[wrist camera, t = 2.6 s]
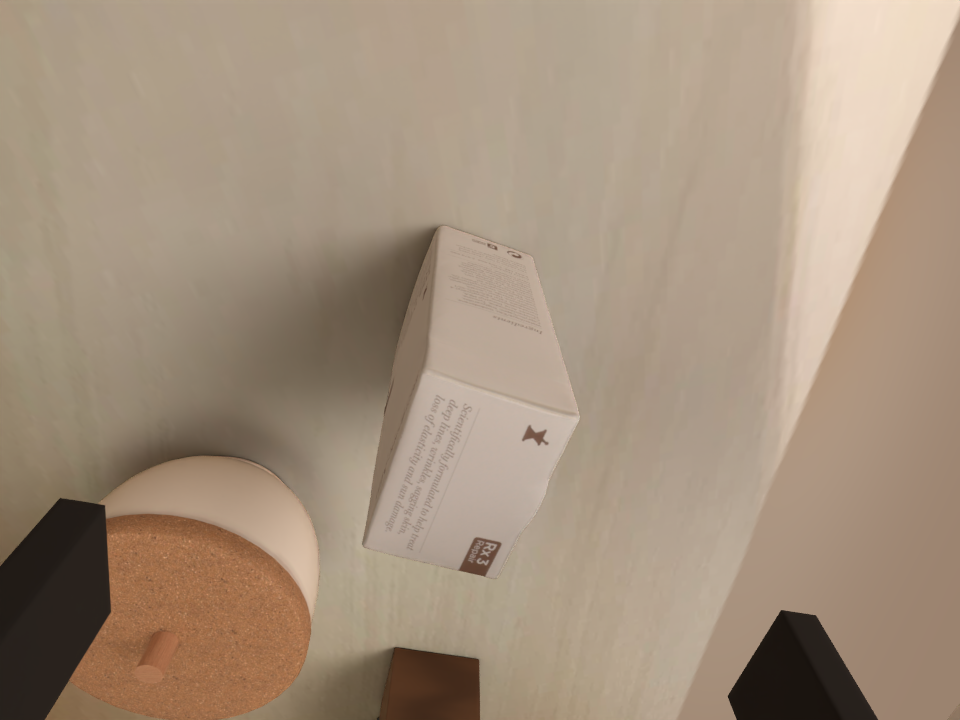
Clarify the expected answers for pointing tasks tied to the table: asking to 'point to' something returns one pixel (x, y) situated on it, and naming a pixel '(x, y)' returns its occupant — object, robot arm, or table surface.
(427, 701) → the walnut block
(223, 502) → the trinket box
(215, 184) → the table surface
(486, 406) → the cosmetic box
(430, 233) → the table surface
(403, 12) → the table surface
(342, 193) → the table surface
